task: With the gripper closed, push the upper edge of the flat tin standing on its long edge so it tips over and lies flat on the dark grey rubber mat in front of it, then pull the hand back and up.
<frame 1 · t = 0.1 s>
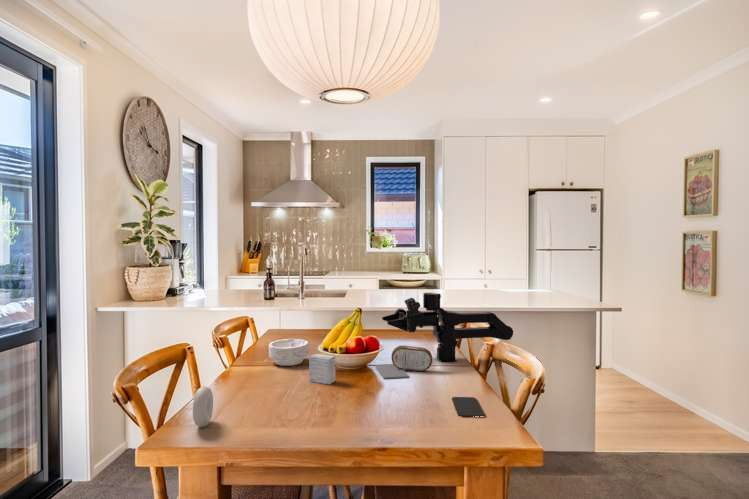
hand: (384, 320, 178), 17 cm above the table, tool horizontal, fingers open, 9 cm apart
phone: (467, 409, 132), on the table
tin mat: (391, 371, 166), on the table
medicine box: (322, 382, 155), on the table
grey marbled disc: (203, 426, 118), on the table
tin: (410, 370, 168), on the table, touching tin mat
marble bowl: (288, 363, 177), on the table
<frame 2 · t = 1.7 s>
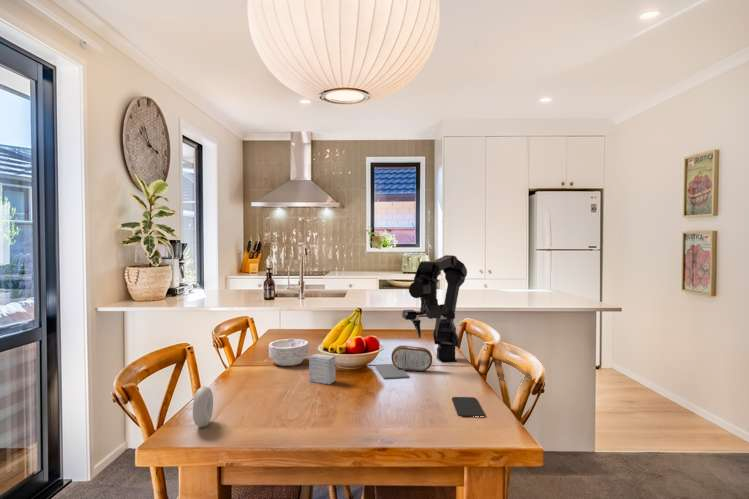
hand: (428, 337, 169), 12 cm above the table, tool pointing down, fingers open, 6 cm apart
nothing on the table moved.
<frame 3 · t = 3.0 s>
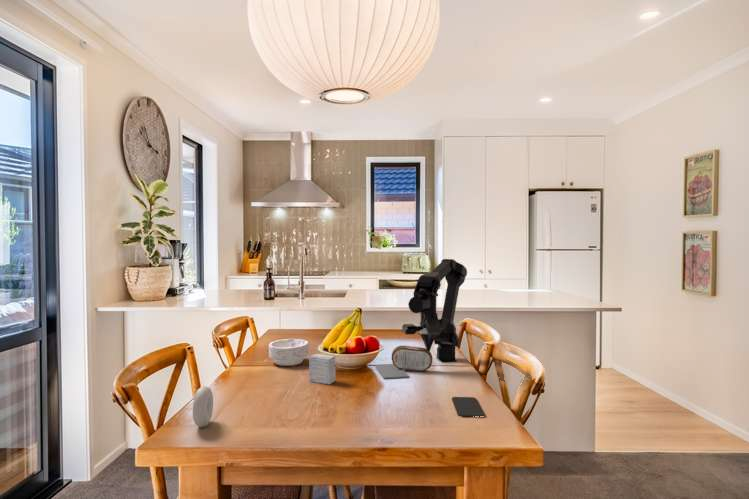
hand: (428, 351, 169), 7 cm above the table, tool pointing down, fingers closed
tin: (410, 370, 168), on the table, touching gripper, tin mat
everything else where it was.
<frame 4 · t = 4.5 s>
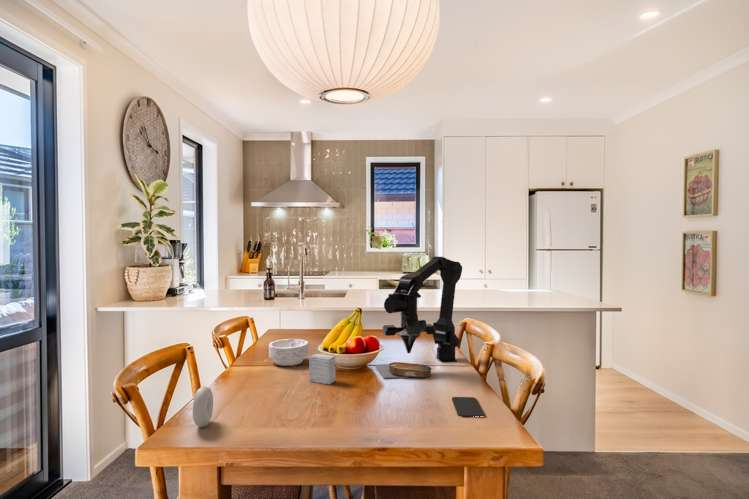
hand: (408, 353, 167), 7 cm above the table, tool pointing down, fingers closed
tin: (409, 367, 167), point 1 cm above the table, touching tin mat
everything else where it was.
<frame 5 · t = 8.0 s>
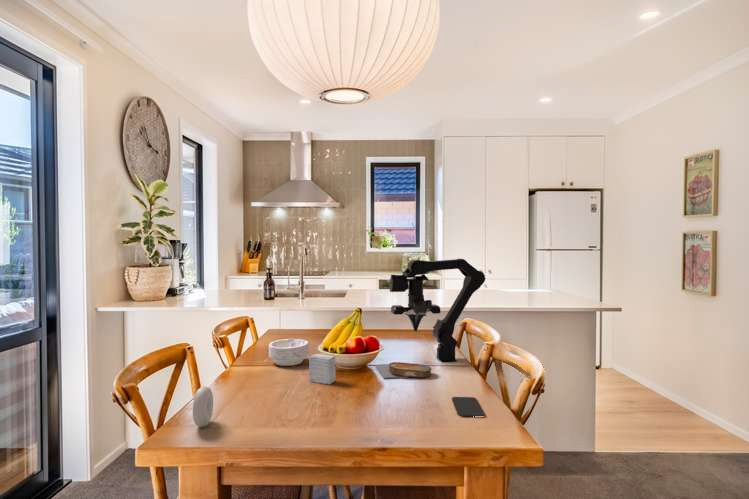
hand: (415, 331, 180), 12 cm above the table, tool pointing down, fingers closed
nothing on the table moved.
at the end: tin tilted 85°; tin touching table, tin mat; tin inside the target area (2.3 cm from its centre), point 1.5 cm above the table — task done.
